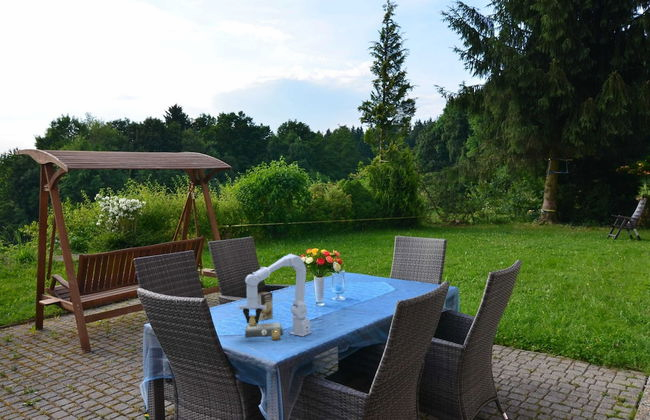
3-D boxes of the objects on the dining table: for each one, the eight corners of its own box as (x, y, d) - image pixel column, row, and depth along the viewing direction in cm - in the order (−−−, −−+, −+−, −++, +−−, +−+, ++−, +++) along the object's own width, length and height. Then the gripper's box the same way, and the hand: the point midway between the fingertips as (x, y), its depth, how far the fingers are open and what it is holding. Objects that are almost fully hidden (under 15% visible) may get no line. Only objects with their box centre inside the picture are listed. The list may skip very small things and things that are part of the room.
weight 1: (258, 325, 252) (258, 315, 252) (252, 327, 248) (252, 317, 248) (253, 323, 254) (252, 314, 254) (246, 325, 251) (246, 316, 251)
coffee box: (262, 321, 289) (261, 295, 289) (255, 319, 293) (254, 293, 293) (273, 317, 296) (272, 292, 296) (266, 316, 300) (265, 291, 300)
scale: (282, 335, 260) (282, 328, 260) (245, 337, 257) (245, 330, 257) (280, 327, 274) (280, 321, 274) (245, 329, 271) (245, 323, 271)
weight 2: (281, 338, 253) (281, 329, 253) (276, 341, 250) (276, 331, 250) (275, 337, 256) (275, 328, 256) (270, 339, 252) (269, 330, 252)
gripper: (267, 295, 254) (267, 320, 255) (240, 295, 255) (241, 320, 256) (264, 298, 247) (265, 324, 248) (237, 298, 248) (237, 324, 249)
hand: (252, 322), depth 251 cm, fingers closed on weight 1, 4 cm apart
